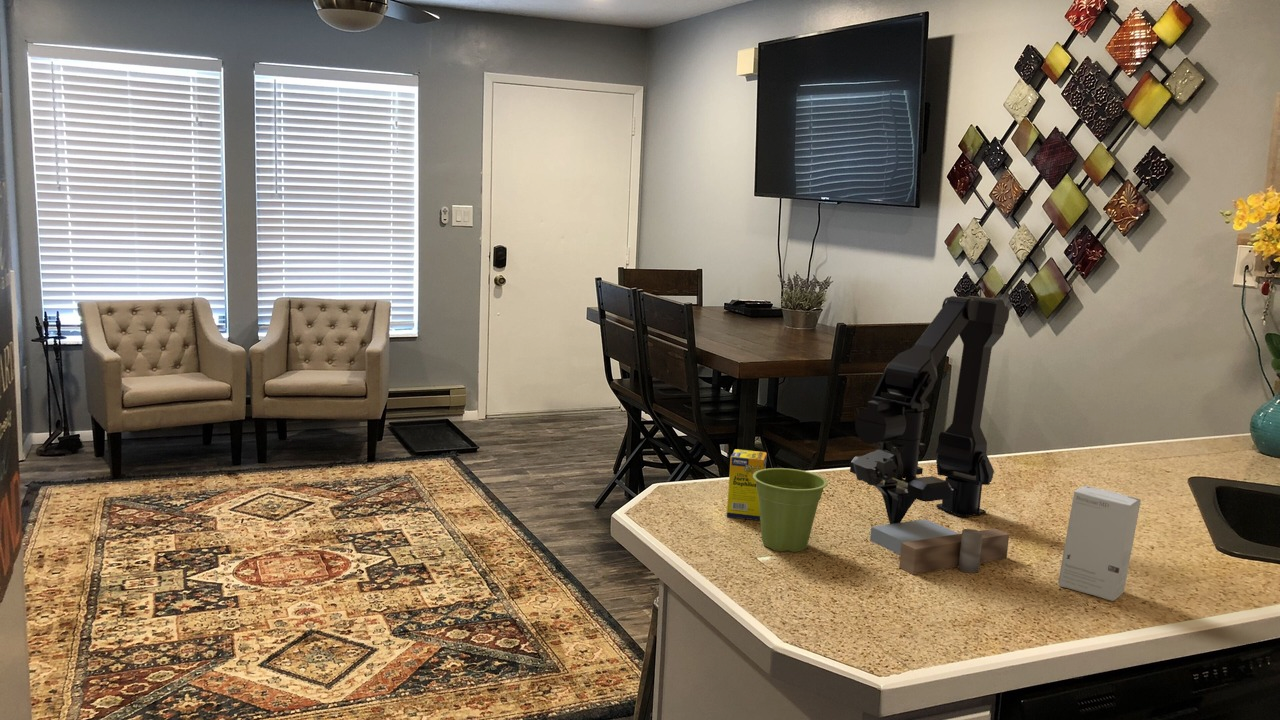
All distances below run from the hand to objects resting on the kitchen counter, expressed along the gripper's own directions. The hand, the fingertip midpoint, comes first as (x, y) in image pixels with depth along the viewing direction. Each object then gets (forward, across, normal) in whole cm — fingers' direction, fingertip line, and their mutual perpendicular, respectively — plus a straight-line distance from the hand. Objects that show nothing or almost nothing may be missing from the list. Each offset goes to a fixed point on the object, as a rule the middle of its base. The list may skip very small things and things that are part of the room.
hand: (893, 526), depth 168 cm
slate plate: (+2, +5, 0) cm, 5 cm away
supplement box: (+2, -18, -18) cm, 26 cm away
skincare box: (+2, +30, +12) cm, 32 cm away
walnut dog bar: (+1, +15, 0) cm, 15 cm away
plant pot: (+2, -2, -21) cm, 21 cm away
